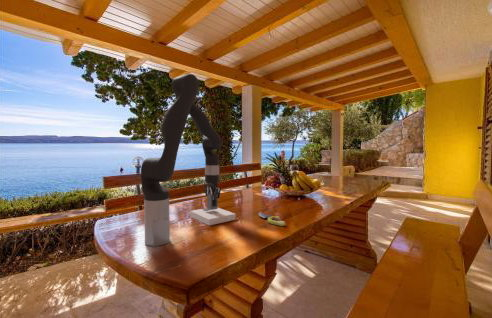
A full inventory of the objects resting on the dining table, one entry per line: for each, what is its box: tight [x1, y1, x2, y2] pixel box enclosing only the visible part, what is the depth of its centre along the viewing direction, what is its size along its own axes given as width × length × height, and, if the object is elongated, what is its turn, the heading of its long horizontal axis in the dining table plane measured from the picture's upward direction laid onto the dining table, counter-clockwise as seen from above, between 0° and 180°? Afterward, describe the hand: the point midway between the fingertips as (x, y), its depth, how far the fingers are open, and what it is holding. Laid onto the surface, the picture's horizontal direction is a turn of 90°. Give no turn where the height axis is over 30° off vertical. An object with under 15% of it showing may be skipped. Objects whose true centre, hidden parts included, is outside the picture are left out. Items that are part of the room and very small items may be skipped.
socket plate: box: [189, 207, 236, 226], centre depth 127 cm, size 20×16×4 cm
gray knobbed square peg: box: [206, 191, 219, 210], centre depth 126 cm, size 4×4×10 cm
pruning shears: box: [258, 211, 286, 227], centre depth 124 cm, size 8×3×25 cm
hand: (212, 205), depth 126 cm, fingers closed on gray knobbed square peg, 4 cm apart
